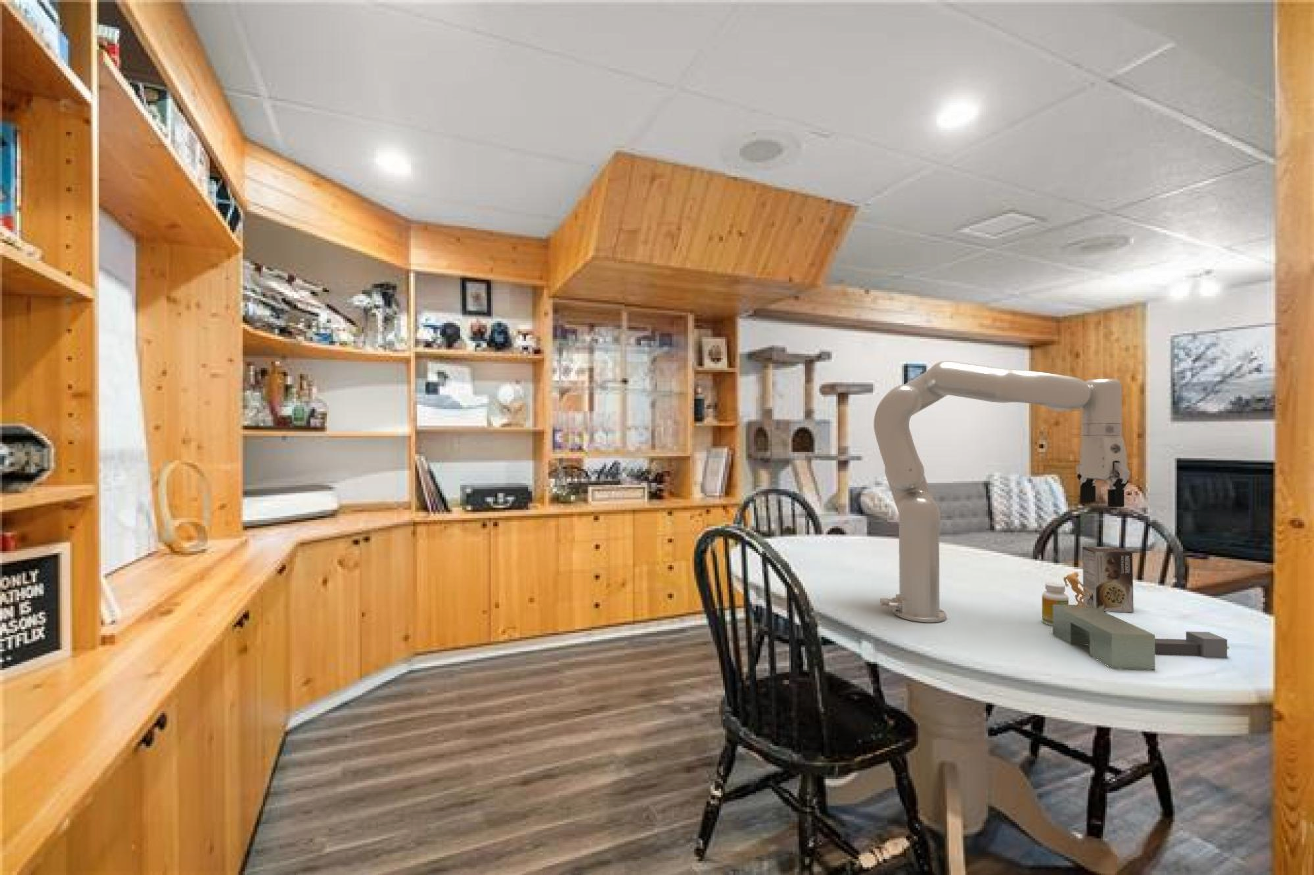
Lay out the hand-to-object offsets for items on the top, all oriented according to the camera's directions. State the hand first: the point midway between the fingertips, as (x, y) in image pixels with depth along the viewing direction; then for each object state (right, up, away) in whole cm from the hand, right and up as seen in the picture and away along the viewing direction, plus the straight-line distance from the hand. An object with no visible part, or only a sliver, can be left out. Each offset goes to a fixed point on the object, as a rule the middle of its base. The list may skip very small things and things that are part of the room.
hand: (1101, 504), depth 135 cm
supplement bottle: (-6, -31, +7) cm, 32 cm away
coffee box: (+16, -30, +19) cm, 39 cm away
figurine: (+2, -31, +10) cm, 32 cm away
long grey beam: (+6, -30, -12) cm, 33 cm away
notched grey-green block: (-9, -30, -11) cm, 34 cm away
